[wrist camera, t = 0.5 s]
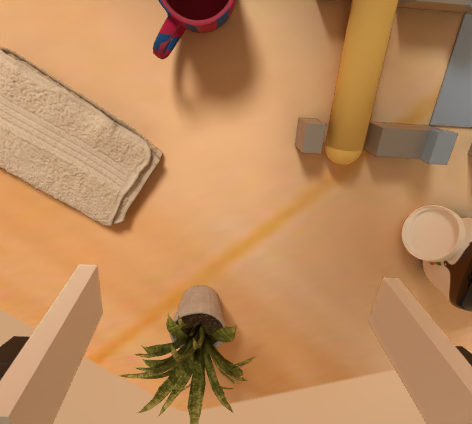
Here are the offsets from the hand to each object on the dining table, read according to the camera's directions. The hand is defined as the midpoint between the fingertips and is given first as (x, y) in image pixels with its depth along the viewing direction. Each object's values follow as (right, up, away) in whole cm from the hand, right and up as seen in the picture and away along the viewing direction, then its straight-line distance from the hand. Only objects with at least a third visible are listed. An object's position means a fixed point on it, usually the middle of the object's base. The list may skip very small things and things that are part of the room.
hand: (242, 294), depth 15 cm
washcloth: (-19, +11, +21) cm, 30 cm away
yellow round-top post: (+12, +19, +19) cm, 29 cm away
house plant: (-5, -7, +30) cm, 32 cm away
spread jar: (+27, 0, +28) cm, 39 cm away
